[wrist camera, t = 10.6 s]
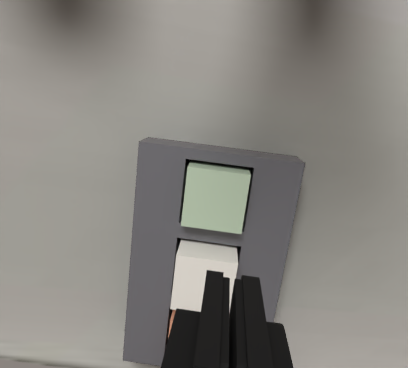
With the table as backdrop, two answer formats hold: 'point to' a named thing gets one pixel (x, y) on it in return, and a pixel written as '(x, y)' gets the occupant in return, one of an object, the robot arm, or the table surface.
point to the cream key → (200, 271)
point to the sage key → (215, 196)
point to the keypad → (201, 233)
